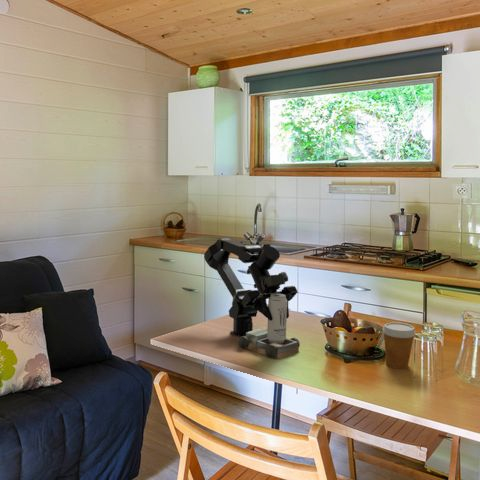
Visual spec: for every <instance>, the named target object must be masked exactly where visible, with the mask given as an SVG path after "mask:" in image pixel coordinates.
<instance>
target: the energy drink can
mask: <svg viewBox="0 0 480 480" xmlns="http://www.w3.org/2000/svg"><path fill="white" fill-rule="evenodd" d="M270 296H271V297H270V298H269V299H267V300H268V302H267V303H268V304H267V306H268V308H269V310H270V313H271V315H272V318H273V319H272V321H270V320H269V319H268V318H267V327H266V328H267V329H266V330H267V338H268V339H269V342H271V343H283V342H284V340H285V339H286V338H287V323H288V322H287V319H288V318H287V299H286V295H284V294H278V293H276V294H271V295H270Z"/></svg>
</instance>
